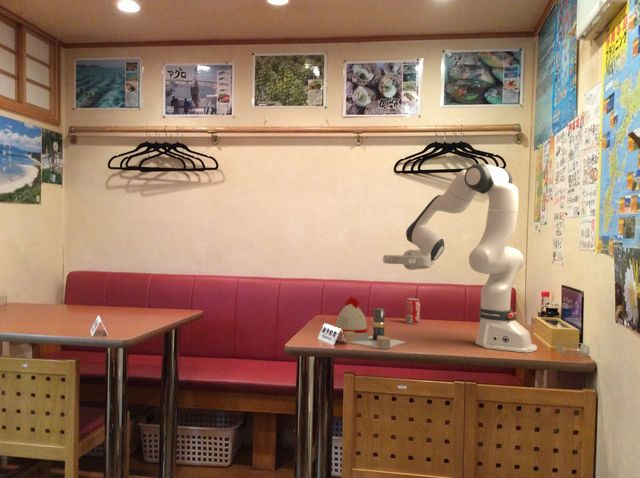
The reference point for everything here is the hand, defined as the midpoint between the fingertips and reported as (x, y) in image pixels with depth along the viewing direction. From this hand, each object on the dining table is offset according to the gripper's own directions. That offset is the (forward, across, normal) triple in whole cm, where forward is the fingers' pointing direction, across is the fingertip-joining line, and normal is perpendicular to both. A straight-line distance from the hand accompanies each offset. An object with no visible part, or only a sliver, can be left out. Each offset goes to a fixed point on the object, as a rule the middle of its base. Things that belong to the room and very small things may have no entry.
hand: (397, 260), depth 210 cm
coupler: (+14, 0, +31) cm, 34 cm away
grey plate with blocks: (+17, -2, +32) cm, 36 cm away
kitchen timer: (+2, -21, +32) cm, 39 cm away
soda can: (-37, -11, +32) cm, 50 cm away
